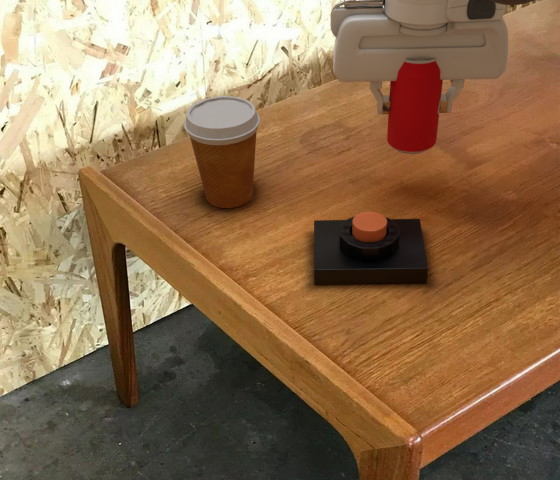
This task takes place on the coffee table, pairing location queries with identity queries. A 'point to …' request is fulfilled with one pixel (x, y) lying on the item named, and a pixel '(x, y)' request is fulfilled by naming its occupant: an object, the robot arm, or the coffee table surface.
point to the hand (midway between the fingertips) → (414, 111)
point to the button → (369, 227)
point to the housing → (369, 254)
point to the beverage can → (414, 107)
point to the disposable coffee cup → (224, 147)
